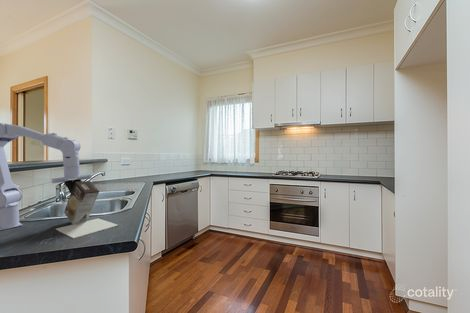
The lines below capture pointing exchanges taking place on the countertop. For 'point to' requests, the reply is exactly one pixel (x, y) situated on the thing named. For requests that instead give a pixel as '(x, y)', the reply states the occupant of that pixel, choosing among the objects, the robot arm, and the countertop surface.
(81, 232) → the mat
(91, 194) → the coffee box
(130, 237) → the countertop surface
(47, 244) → the countertop surface
